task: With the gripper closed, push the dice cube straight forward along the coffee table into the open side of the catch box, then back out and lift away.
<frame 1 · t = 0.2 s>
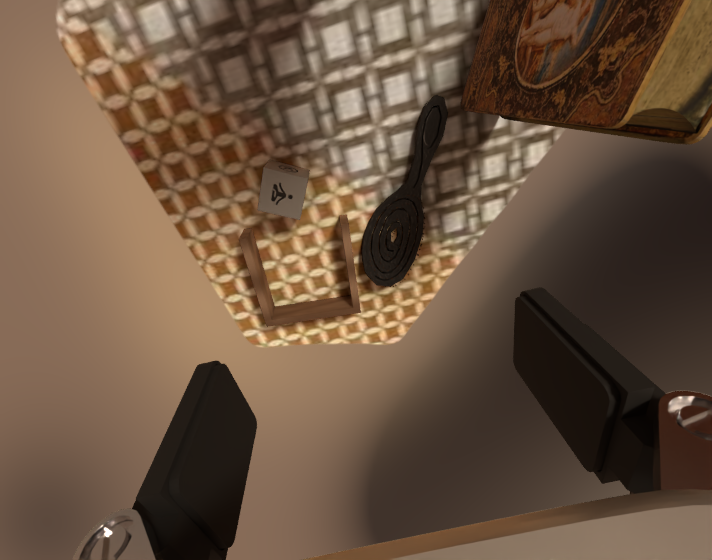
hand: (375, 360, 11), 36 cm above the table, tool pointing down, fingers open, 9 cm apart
catch box: (305, 267, 49), on the table
dice cube: (286, 183, 43), on the table
book: (504, 32, 37), on the table
hairbrush: (404, 196, 46), on the table
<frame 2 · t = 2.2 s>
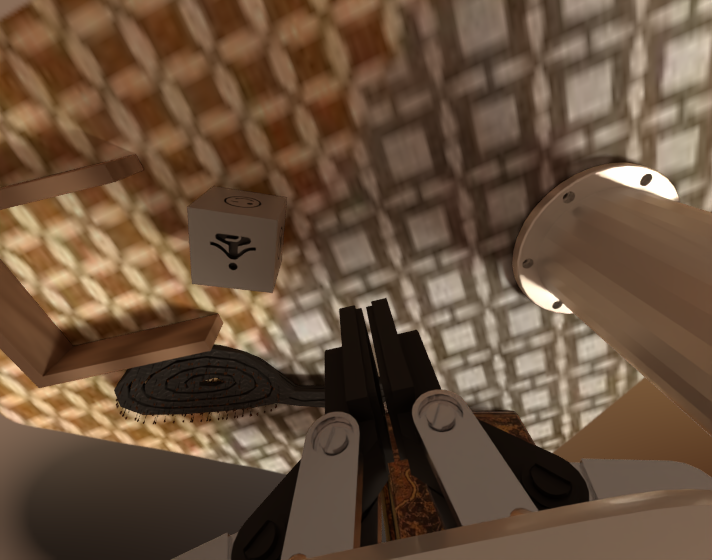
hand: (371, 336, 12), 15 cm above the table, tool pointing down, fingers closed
catch box: (97, 270, 25), on the table
dice cube: (250, 224, 25), on the table
book: (447, 426, 38), on the table
hairbrush: (272, 376, 33), on the table
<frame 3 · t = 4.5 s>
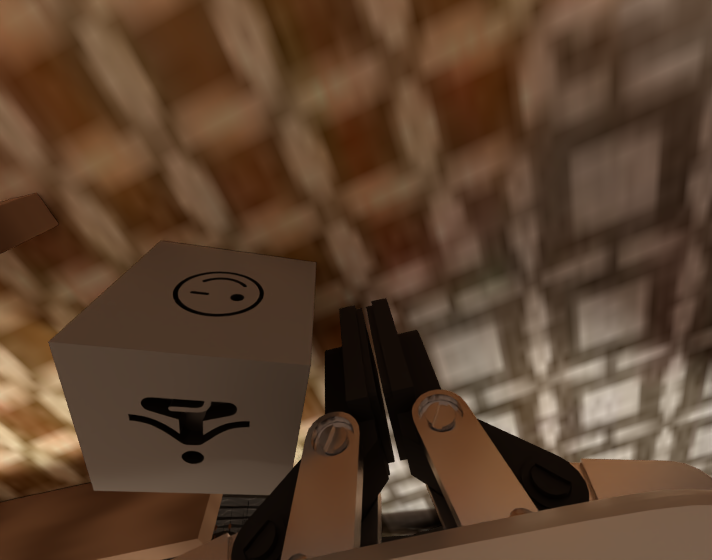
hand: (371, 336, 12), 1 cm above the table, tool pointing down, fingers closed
dice cube: (240, 310, 12), on the table, touching gripper
hairbrush: (313, 513, 21), on the table
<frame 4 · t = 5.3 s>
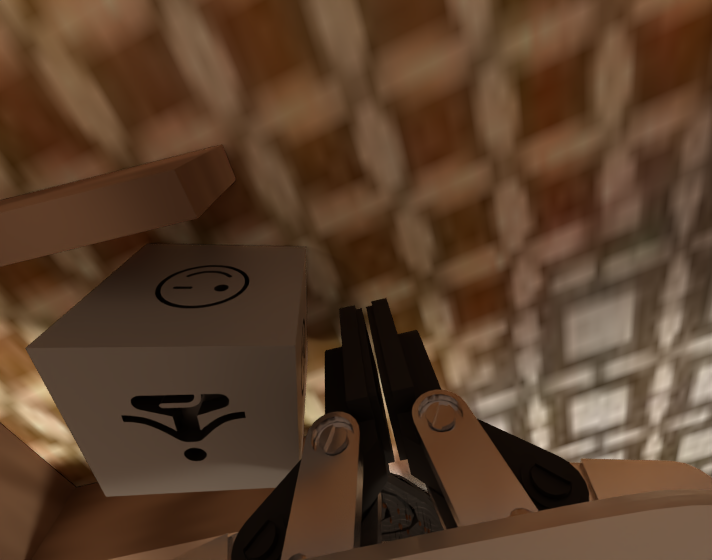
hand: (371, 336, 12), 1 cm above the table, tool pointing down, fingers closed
catch box: (124, 373, 13), on the table
dice cube: (238, 305, 12), on the table, touching gripper
hairbrush: (405, 492, 20), on the table
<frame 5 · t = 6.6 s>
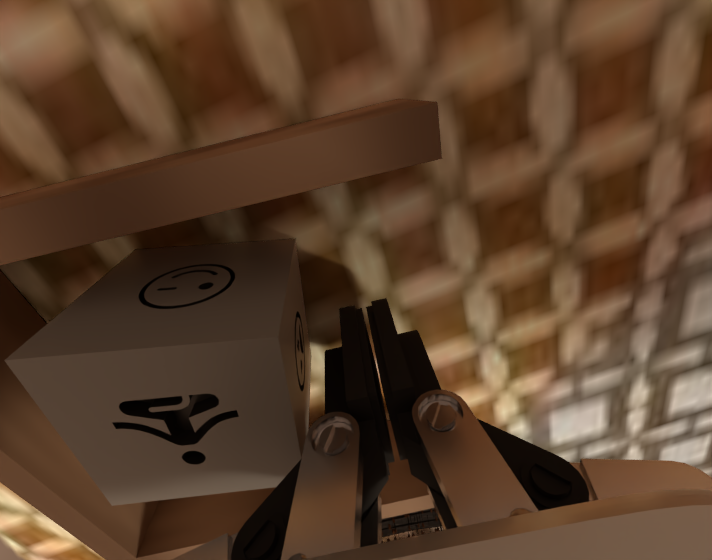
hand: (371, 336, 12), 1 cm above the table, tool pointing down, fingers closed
catch box: (246, 347, 13), on the table
dice cube: (234, 305, 12), on the table, touching gripper
hairbrush: (493, 472, 20), on the table
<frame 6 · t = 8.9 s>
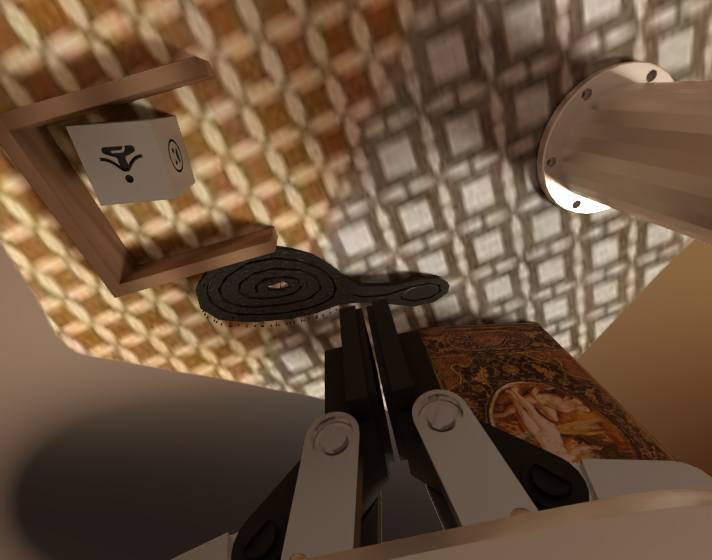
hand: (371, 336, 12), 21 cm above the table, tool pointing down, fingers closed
catch box: (166, 183, 27), on the table
dice cube: (154, 152, 27), on the table
book: (477, 341, 41), on the table
hairbrush: (332, 281, 35), on the table
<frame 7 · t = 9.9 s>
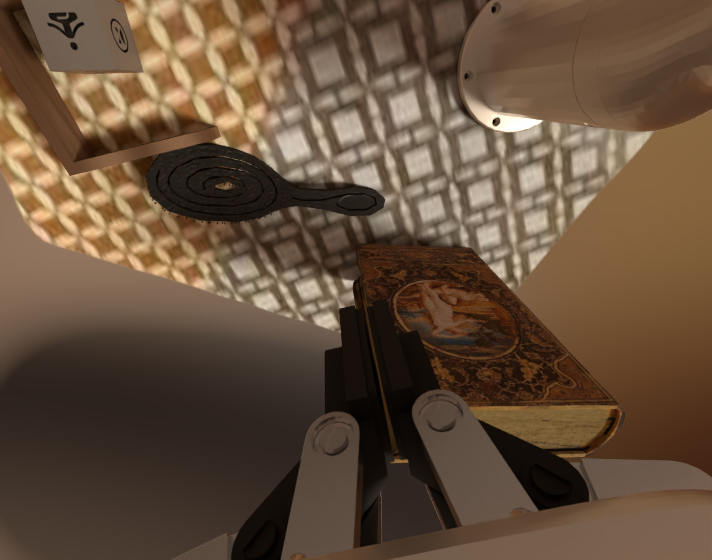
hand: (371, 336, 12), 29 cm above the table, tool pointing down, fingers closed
catch box: (118, 75, 31), on the table
dice cube: (106, 40, 30), on the table
book: (414, 264, 44), on the table
hairbrush: (276, 189, 38), on the table
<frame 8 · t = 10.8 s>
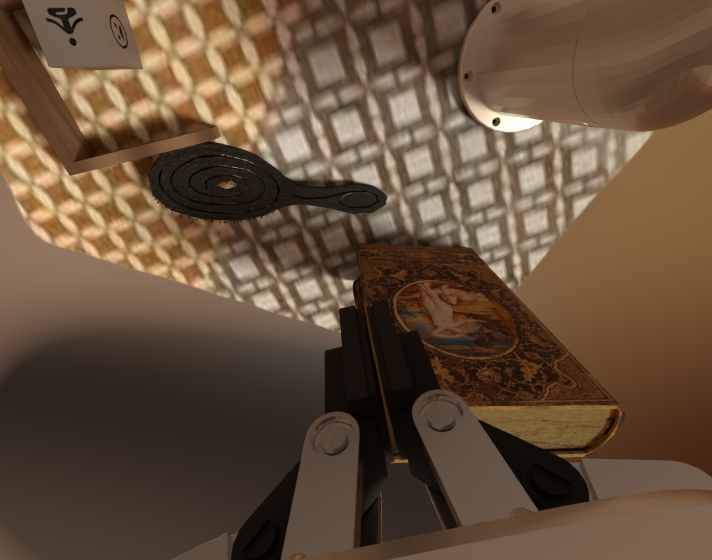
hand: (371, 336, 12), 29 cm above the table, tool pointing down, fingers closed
catch box: (118, 75, 31), on the table
dice cube: (106, 37, 30), on the table
book: (414, 264, 44), on the table
hairbrush: (278, 187, 38), on the table
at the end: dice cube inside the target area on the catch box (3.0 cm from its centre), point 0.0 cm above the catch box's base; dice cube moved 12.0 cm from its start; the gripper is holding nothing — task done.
